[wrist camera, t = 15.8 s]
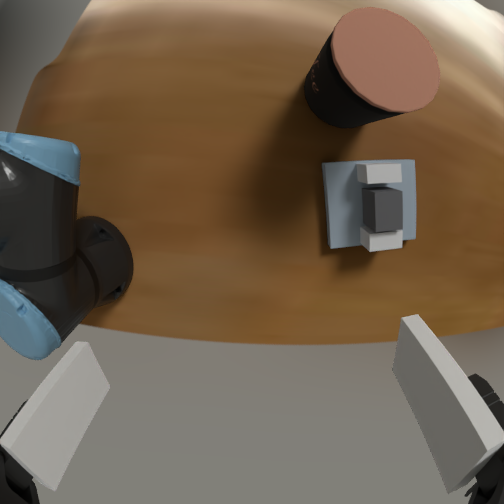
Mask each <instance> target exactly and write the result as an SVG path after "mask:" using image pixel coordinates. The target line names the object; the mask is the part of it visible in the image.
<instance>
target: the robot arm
mask: <svg viewBox="0 0 504 504" xmlns="http://www.w3.org/2000/svg"><path fill="white" fill-rule="evenodd" d="M80 160H81V155H80V151H79V149H78V147H77V146H76V145H75V144H73V143H72V142H68V141H63V140H58V139H52V138H46V137H40V136H33V135H26V134H17V133H9V132H1V131H0V336H1V338H2V339H3V340H4V341H5V342H6V343H7V344H8V345H9V346H10V347H12V349H14V350H15V351H16V352H18V353H19V354H21V355H22V356H24V357H27V358H29V359H33V360H41V359H43V358H46V357H47V356H48V355H49V354H50V353H51V352H52V351H53V350H55V349H56V348H59V347H60V346H61V343H62V342H63V341H64V340H65V339H66V338H67V336H68V335H69V334H70V333H71V332H72V331H73V330H74V328H75V327H76V326H77V325H78V324H79V323H80V322H81V321H82V320H83V319H84V318H85V317H86V316H87V314H88V313H89V312H90V311H91V310H92V309H93V308H96V307H99V306H102V305H105V304H108V303H111V302H113V301H115V300H116V299H118V298H119V297H120V296H121V295H122V294H123V293H124V292H125V291H126V289H127V288H128V286H129V285H130V282H131V280H132V276H133V258H132V254H131V251H130V248H129V245H128V243H127V241H126V240H125V238H124V236H123V235H122V234H121V232H120V231H119V230H118V229H117V228H116V227H115V226H114V225H113V224H111V223H110V222H108V221H107V220H105V219H102V218H100V217H95V216H86V217H82V218H80V219H77V220H76V217H77V202H78V191H79V186H80V181H79V174H80ZM392 371H393V372H394V374H395V376H396V378H397V380H398V382H399V384H400V386H401V388H402V390H403V392H404V394H405V396H406V398H407V400H408V403H409V405H410V407H411V409H412V411H413V413H414V415H415V417H416V419H417V422H418V424H419V426H420V428H421V430H422V432H423V435H424V437H425V439H426V441H427V444H428V446H429V448H430V451H431V453H432V455H433V458H434V460H435V463H436V465H437V467H438V470H439V472H440V475H441V477H442V480H443V482H444V485H445V488H446V490H447V493H448V494H449V493H451V492H453V491H455V490H457V489H459V488H461V487H463V486H465V485H467V484H468V483H469V482H470V481H471V480H472V479H473V478H474V477H476V479H477V483H475V484H474V485H473V486H472V487H471V488H470V489H469V490H468V491H467V493H466V494H465V496H466V497H467V496H468V495H469V494H470V493H471V492H472V495H471V498H470V500H469V503H468V504H504V404H503V403H502V401H500V398H499V397H498V395H497V394H496V393H494V390H493V389H492V387H491V386H490V385H489V383H488V382H487V381H486V380H485V379H483V378H482V377H480V376H479V375H477V374H474V375H471V376H469V377H467V376H466V375H465V373H464V372H463V371H462V370H461V368H460V367H459V366H458V364H457V363H456V361H455V360H454V359H453V357H452V356H451V355H450V354H449V352H448V351H447V350H446V348H445V347H444V346H443V345H442V343H441V342H440V341H439V340H438V338H437V337H436V336H435V335H434V333H433V332H432V331H431V330H430V329H429V327H428V326H427V325H426V324H425V322H424V321H423V320H422V319H421V318H420V316H419V315H418V314H417V315H412V316H407V317H403V318H401V323H400V330H399V336H398V342H397V348H396V353H395V358H394V363H393V368H392ZM109 389H110V385H109V383H108V381H107V379H106V377H105V375H104V374H103V372H102V370H101V368H100V366H99V364H98V362H97V360H96V358H95V356H94V353H93V351H92V349H91V347H90V345H89V343H88V342H80V341H76V342H75V343H74V344H73V345H72V347H71V348H70V349H69V350H68V351H67V353H66V354H65V355H64V356H63V357H62V359H61V360H60V361H59V362H58V364H57V365H56V366H55V367H54V368H53V369H52V371H51V372H50V373H49V374H48V376H47V377H46V378H45V379H44V381H43V382H42V383H41V384H40V386H39V387H38V388H37V389H36V391H35V392H34V393H33V395H32V396H31V397H30V398H29V399H28V400H27V401H25V402H24V403H23V404H22V406H21V407H20V408H19V410H18V413H16V414H15V415H14V416H13V419H11V421H10V422H9V423H8V425H7V426H6V428H5V429H4V430H3V432H2V434H1V435H0V504H40V503H39V499H38V494H37V489H36V486H35V483H34V482H33V481H32V479H33V477H34V478H35V479H36V480H37V481H39V482H40V483H41V484H42V485H44V486H46V487H47V488H50V489H51V490H53V491H56V489H57V487H58V485H59V483H60V480H61V478H62V476H63V474H64V472H65V470H66V468H67V466H68V464H69V462H70V460H71V458H72V456H73V454H74V453H75V451H76V449H77V447H78V445H79V443H80V441H81V439H82V437H83V435H84V433H85V432H86V430H87V428H88V426H89V424H90V422H91V421H92V419H93V417H94V415H95V413H96V411H97V410H98V408H99V406H100V404H101V403H102V401H103V399H104V397H105V395H106V394H107V392H108V390H109Z"/></svg>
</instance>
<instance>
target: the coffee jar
mask: <svg viewBox="0 0 504 504" xmlns="http://www.w3.org/2000/svg"><path fill="white" fill-rule="evenodd" d="M439 80H440V70H439V65H438V60H437V57H436V54H435V52H434V50H433V49H432V47H431V45H430V43H429V41H428V40H427V39H426V37H425V36H424V35H423V34H422V33H421V31H420V30H419V29H418V28H417V27H416V26H414V25H413V24H412V23H410V22H409V21H408V20H406V19H405V18H404V17H402V16H400V15H398V14H396V13H393V12H391V11H389V10H386V9H380V8H374V7H366V8H359V9H354V10H353V11H351V12H349V13H347V14H345V15H344V16H342V18H341V19H340V20H339V22H338V23H337V25H336V26H335V27H334V30H333V32H332V33H331V35H330V36H329V37H328V39H327V41H326V42H325V44H324V46H323V48H322V49H321V51H320V53H319V55H318V56H317V58H316V60H315V62H314V64H313V65H312V67H311V69H310V71H309V72H308V74H307V76H306V80H305V85H304V90H305V97H306V100H307V102H308V104H309V106H310V108H311V110H312V111H313V112H314V113H315V114H316V115H317V116H318V118H320V119H321V120H323V121H324V122H326V123H328V124H329V125H332V126H336V127H339V128H354V127H357V126H361V125H364V124H368V123H371V122H375V121H378V120H382V119H386V118H390V117H393V116H397V115H400V114H404V113H408V112H412V111H415V110H419V109H422V108H423V107H425V106H426V105H427V104H428V103H429V102H431V101H432V100H433V98H434V96H435V94H436V92H437V90H438V88H439Z"/></svg>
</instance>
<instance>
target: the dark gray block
mask: <svg viewBox="0 0 504 504" xmlns="http://www.w3.org/2000/svg"><path fill="white" fill-rule="evenodd" d="M362 205H363V223H364V224H365V225H366V226H368V227H369V228H371V229H372V230H373V231H375V232H382V231H392V230H402V229H403V192H402V191H400V190H397V189H394V188H390V187H371V188H362Z"/></svg>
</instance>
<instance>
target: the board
mask: <svg viewBox="0 0 504 504" xmlns="http://www.w3.org/2000/svg"><path fill="white" fill-rule="evenodd" d="M322 172H323V182H324V193H325V206H326V220H327V236H328V245H329V247H330V248H331V249H332V248H341V247H350V246H358V245H363V246H364V247H365V248H366V249H367V250H368V251H369V252H372V251H380V250H388V249H396V248H402V240H409V239H416V179H415V161H414V160H409V159H402V160H363V161H343V162H327V163H322ZM371 187H390V188H394V189H397V190H400V191H402V192H403V229H402V230H392V231H382V232H375V231H373V230H372V229H371V228H369V227H368V226H366V225H365V224H364V223H363V205H362V188H371Z"/></svg>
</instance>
